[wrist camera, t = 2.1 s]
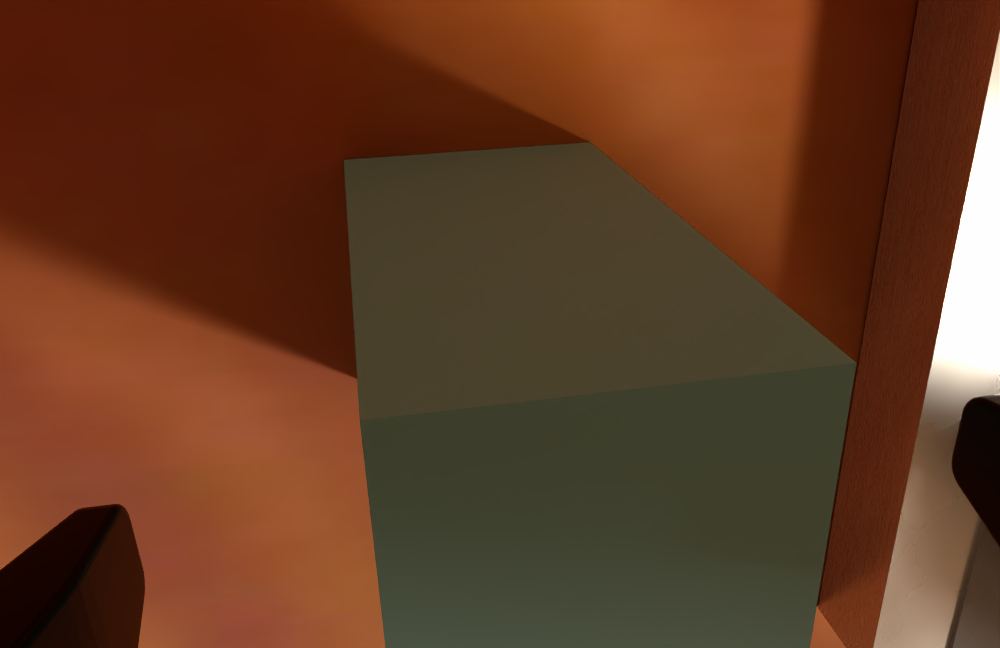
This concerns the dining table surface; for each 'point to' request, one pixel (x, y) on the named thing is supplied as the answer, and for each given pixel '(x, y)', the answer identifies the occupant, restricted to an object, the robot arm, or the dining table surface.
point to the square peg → (581, 413)
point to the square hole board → (926, 358)
